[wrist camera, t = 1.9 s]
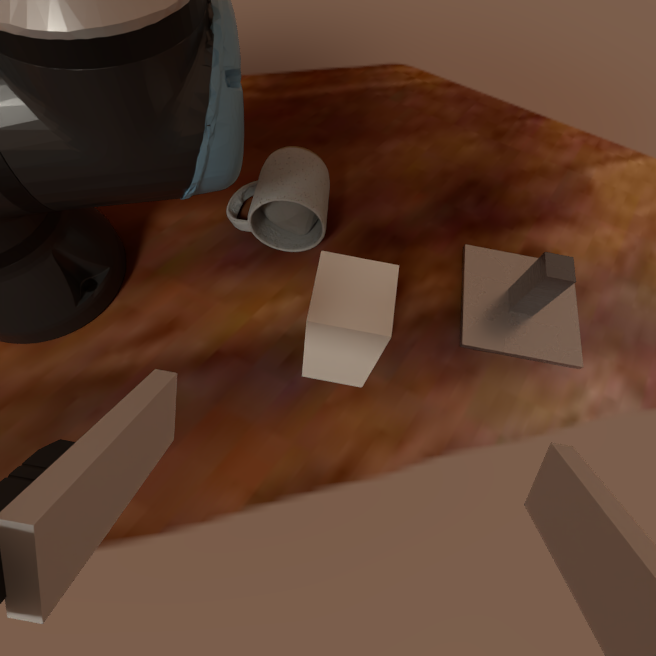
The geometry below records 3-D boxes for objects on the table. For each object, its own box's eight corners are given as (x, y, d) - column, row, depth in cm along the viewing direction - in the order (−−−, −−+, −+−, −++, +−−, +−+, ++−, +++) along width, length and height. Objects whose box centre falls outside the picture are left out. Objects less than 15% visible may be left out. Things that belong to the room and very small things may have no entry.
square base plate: (459, 346, 40) (493, 313, 33) (463, 247, 45) (493, 201, 38) (579, 369, 40) (637, 341, 33) (569, 267, 45) (617, 225, 38)
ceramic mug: (328, 196, 46) (334, 140, 39) (323, 256, 43) (328, 206, 36) (235, 187, 46) (224, 128, 39) (222, 246, 42) (207, 194, 35)
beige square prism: (302, 376, 37) (306, 320, 26) (313, 322, 39) (321, 250, 29) (361, 387, 37) (391, 336, 26) (369, 332, 39) (399, 265, 29)
